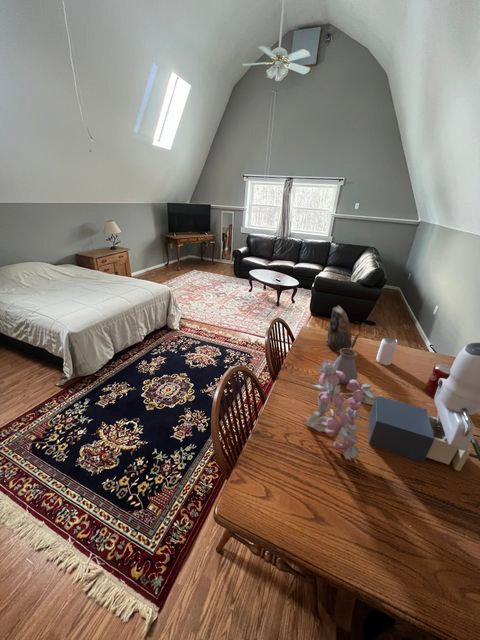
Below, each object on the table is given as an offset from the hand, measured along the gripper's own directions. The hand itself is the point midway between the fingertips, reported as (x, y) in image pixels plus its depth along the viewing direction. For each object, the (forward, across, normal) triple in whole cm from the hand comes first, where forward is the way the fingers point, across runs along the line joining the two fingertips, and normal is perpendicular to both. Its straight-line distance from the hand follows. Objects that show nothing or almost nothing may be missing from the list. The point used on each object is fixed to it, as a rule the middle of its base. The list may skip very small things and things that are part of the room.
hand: (441, 435), depth 79 cm
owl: (+7, +53, +33) cm, 63 cm away
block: (+4, 0, 0) cm, 4 cm away
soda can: (+7, +32, -6) cm, 33 cm away
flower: (+7, -10, +28) cm, 31 cm away
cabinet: (+6, 0, +11) cm, 13 cm away
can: (+7, +48, +12) cm, 50 cm away
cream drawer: (+6, 0, -1) cm, 6 cm away
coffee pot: (+7, +30, +28) cm, 42 cm away
